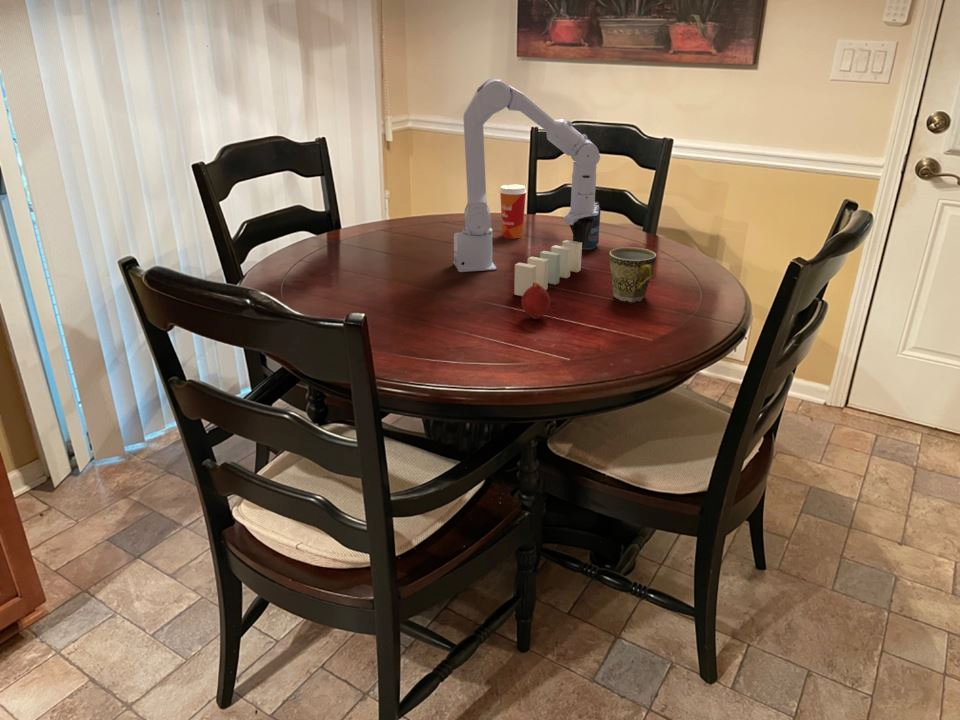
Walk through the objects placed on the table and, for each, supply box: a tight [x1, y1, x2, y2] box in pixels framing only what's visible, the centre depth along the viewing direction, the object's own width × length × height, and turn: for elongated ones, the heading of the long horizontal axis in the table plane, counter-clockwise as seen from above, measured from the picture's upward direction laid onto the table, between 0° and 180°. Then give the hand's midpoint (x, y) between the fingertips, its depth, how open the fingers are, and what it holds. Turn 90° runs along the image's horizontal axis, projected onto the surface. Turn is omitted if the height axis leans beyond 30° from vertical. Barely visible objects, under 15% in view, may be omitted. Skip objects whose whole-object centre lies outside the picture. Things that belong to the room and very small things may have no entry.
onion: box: [520, 282, 551, 320], centre depth 152 cm, size 6×6×8 cm
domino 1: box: [513, 262, 536, 297], centre depth 165 cm, size 2×4×7 cm, turn 56°
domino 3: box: [539, 250, 561, 285], centre depth 174 cm, size 2×4×7 cm, turn 56°
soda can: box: [572, 200, 601, 250], centre depth 199 cm, size 7×7×12 cm
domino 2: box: [527, 256, 549, 291], centre depth 169 cm, size 2×4×7 cm, turn 56°
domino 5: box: [561, 239, 583, 273], centre depth 182 cm, size 2×4×7 cm, turn 56°
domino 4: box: [550, 244, 571, 279], centre depth 178 cm, size 2×4×7 cm, turn 56°
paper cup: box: [499, 183, 527, 240], centre depth 209 cm, size 8×8×14 cm
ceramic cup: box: [608, 246, 657, 303], centre depth 162 cm, size 13×10×10 cm
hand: (580, 247), depth 185 cm, fingers closed
